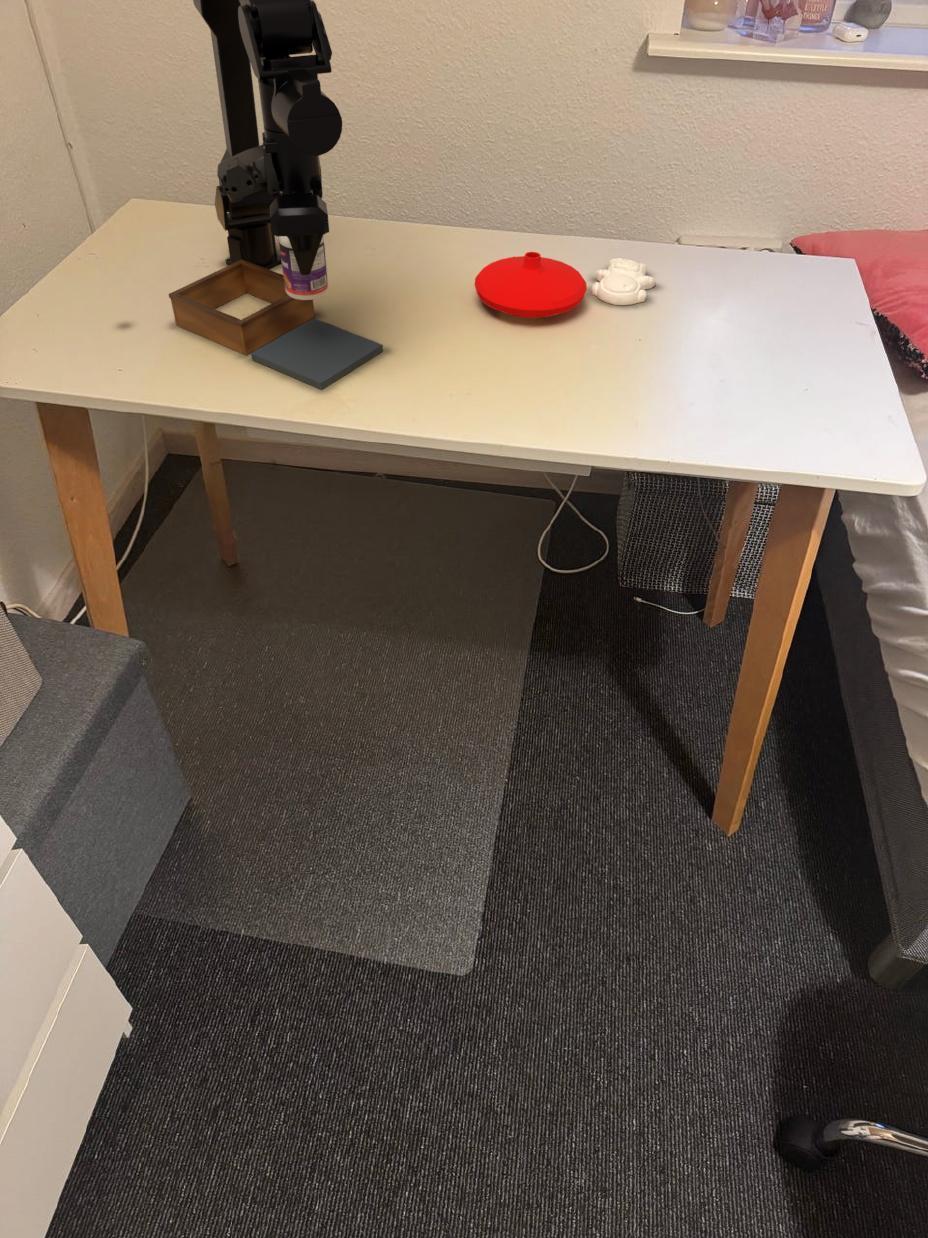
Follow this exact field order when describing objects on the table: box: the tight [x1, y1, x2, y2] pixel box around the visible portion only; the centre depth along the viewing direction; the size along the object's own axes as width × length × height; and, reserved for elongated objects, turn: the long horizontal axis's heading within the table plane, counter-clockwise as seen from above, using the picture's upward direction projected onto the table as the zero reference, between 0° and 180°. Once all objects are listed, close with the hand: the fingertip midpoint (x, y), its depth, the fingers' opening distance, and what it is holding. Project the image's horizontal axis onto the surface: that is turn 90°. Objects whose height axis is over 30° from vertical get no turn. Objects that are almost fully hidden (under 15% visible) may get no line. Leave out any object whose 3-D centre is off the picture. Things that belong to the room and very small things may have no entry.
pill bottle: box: [278, 234, 329, 301], centre depth 113 cm, size 5×5×10 cm
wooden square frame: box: [168, 260, 316, 356], centre depth 127 cm, size 13×13×4 cm
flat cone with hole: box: [474, 251, 588, 319], centre depth 131 cm, size 16×16×7 cm
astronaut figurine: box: [591, 257, 657, 306], centre depth 137 cm, size 9×12×3 cm
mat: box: [250, 317, 384, 391], centre depth 122 cm, size 12×12×1 cm
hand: (304, 263), depth 114 cm, fingers closed on pill bottle, 5 cm apart
